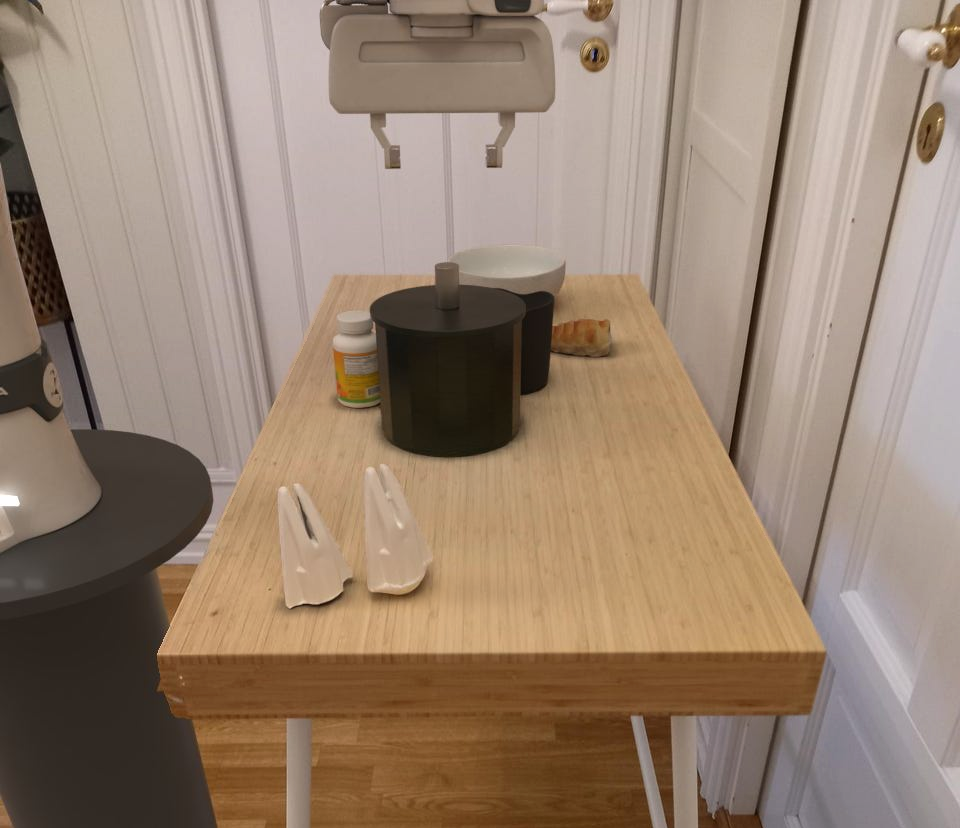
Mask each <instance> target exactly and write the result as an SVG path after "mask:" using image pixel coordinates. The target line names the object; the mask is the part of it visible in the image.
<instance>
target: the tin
mask: <svg viewBox="0 0 960 828" xmlns="http://www.w3.org/2000/svg"><path fill="white" fill-rule="evenodd" d="M374 330H375V333H376V344H377V359H378V373H379V387H380V401H381V403H380V414H381V428H382V433H383V436H384V438H385V439H386V440H387V442H388V443H390V444H391V445H393V446H394V447H396V448H397V449H401V450H403V451H406V452H409V453H413V454H416V455H420V456H421V455H423V456H428V457H436V458H437V457H440V458H457V457H458V458H459V457H467V456H469V457H470V456H476V455H481V454H485V453H489V452H492V451H495V450H498V449H500V448H502V447H505V446H506V445H508V444H509V443H510V442H512V441H514V439H515V438H516V437H517V435H518V433H519V430H520V427H521V395H522V394H521V339H522V320H521V321H520V322H518V323H517V324H515V325H513V326H511V327H509V328H506V329H503V330H500V331H496V332H492V333H487V334H482V335H475V336H465V337H423V336H414V335H407V334H402V333H398V332H394V331H390V330H387V329H385V328H383V327H380V326H379V325H377V324H376V323H374Z"/></svg>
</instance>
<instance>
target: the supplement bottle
mask: <svg viewBox="0 0 960 828" xmlns="http://www.w3.org/2000/svg"><path fill="white" fill-rule="evenodd" d="M336 326H337V331H338V333H337V334H336V335H335V336H334V337H333V339H332V353H333V354H332V355H333V362H334V363H333V364H334V374H335V384H336V385H335V386H336V394H337V400H338V403H340V404H341V405H343V406H345V407H348V408H353V409H360V408H369V407H373V406H377V405H379V404H381V401H380V387H379V373H378V359H377V344H376V331H375V332H374V331H373V329H374V327H375V323H374V322H373V321H372V319H371V317H370V311H366V310H348V311H343V312H340V313H339V314H337V316H336Z"/></svg>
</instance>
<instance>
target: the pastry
mask: <svg viewBox="0 0 960 828" xmlns="http://www.w3.org/2000/svg"><path fill="white" fill-rule="evenodd" d="M612 342H613V337H612V333H611V321H610V320H609V319H607V318H605V319H603V320H598V319H594V318H593V319H592V318H580V319H578V320H569V321H567V322H560V323H558V324H557V325H553V326H552V340H551V352H553V353H556V354H557V353H561V354H565V355H574V356H581V357H585V356H590V357H595V358H596V357H597V358H598V357H604V356H608V355H609V353H610V351H611V349H610V347H611V343H612Z"/></svg>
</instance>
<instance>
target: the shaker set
mask: <svg viewBox="0 0 960 828" xmlns="http://www.w3.org/2000/svg"><path fill="white" fill-rule="evenodd" d="M378 470H379V471H378V472H379V474H378V473H377V470H376V469H375V467H373V466H369V467H366V469H365V471H364V477H363V507H364V510H363V511H364V532H365V533H364V539H365V541H364V542H365V561H366V562H365V563H366V564H365V565H366V578H367V579H366V582H367V590H368V591H369V592H370V593H382V594H390V595H394V596H401V595H407V594H408V593H409V594H410V593H411V592H412V591H414V590H415V589H416V588H418V586H420V583H421V582H422V581H423V579H424V578H425V576H426V571H427V569H428V567H429V566H430V564H431V563H433V562H434V559H435V558H434V553H433V551H432V549H431V547H430V546H429V544H428V542H427V539H426V537H425V535H424V534H423V531H422V529H421V526H420V525H419V522H418V521H417V518H416V516H415V514H414V513H413V510H412V508H411V506H410V504H409V502H408V500H407V498H406V496H405V493H404V492H403V489H402V487H401V485H400V483H399V481H398V479H397V477H396V476H395V475H394V473H393V472H392V470H391V468H390V467H389V466H388V465H387V464H384V463H381V464H380V465H379V469H378ZM292 487H293V490H292V491H293V493H294V498H295V500H294V499H293V496H292V494H291V492H290V490H289V488H288V487H287V486H284V485H282V486H280V487H279V488H278V490H277V517H278V532H279V545H280V559H281V570H282V571H281V572H282V580H283V581H282V582H283V590H284V591H283V592H284V600H285V601H284V602H285V607H287V608H288V609H292V608H293V607H297V606H301V605H303V604H308V605H309V604H310V605H320V604H323V603H327V602H329V601H331V600H333V599H335V598H337V597H338V596H339V595H340V594H341V593H342V592H344V582H345V581H346V580H347V579H350V578H353V577H354V571H353V569H352V568H351V566H350V565H349V563H348V561H347V559H346V555H345V554H344V553H343V551H342V549H341V547H339V544H338V542H337V540H336V539H335V538H334V536H333V534H332V532H331V531H330V529H329V526H328V525H327V524H326V522H325V520H324V519H323V517H322V515H321V513H320V512H319V510H318V508H317V507H316V505H315V503H314V501H313V500H312V498H311V496H310V495H309V494H308V492H307V491H306V490H305V488H304V487H303V486H302V485H301V484H300V483H298V482H295V483H294V482H293V486H292ZM295 501H296V503H295Z"/></svg>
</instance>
